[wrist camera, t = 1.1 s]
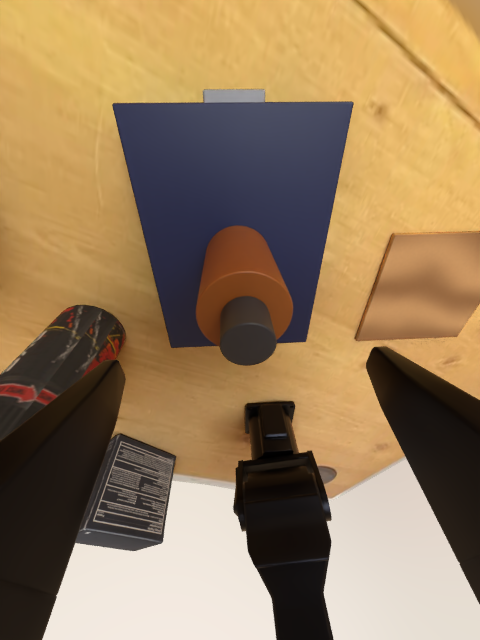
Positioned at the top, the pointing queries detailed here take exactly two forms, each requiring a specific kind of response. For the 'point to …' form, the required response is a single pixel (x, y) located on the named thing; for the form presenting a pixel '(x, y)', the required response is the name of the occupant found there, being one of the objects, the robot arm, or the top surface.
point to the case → (233, 190)
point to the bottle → (242, 296)
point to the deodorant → (57, 362)
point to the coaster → (424, 287)
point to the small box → (129, 497)
